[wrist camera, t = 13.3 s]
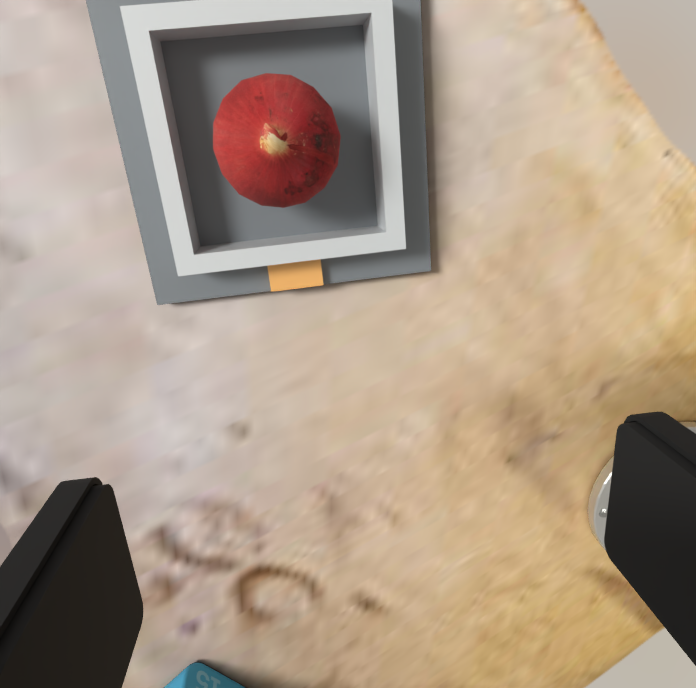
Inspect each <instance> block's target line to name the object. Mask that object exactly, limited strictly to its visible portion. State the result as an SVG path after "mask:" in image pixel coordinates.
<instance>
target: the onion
mask: <svg viewBox="0 0 696 688" xmlns="http://www.w3.org/2000/svg"><path fill="white" fill-rule="evenodd" d="M340 139H341V135H340V132H339V129H338V126H337V123H336V120H335V117H334V114H333V110H332V108H331V106H330V105H329V104H328V103H327V102H326V101H325V100H324V98H323V97H322V96H321V95H320V94H319V93H318V91H317V90H316V89H315V88H314V87H313V86H311V85H309V84H307V83H305V82H303V81H301V80H300V79H298V78H296V77H294V76H292V75H286V74H271V73H265V74H261V75H258V76H254V77H251V78H247V79H244V80H241V81H240V82H239V83H238V84H237V85H236V86H235V87H234V88H233V89H232V90H231V91H230V92H229V93H228V94H227V95H226V96H225V97H224V98H223V99H222V102H221V104H220V107H219V109H218V112H217V114H216V117H215V119H214V122H213V150H214V153H215V156H216V158H217V161H218V164H219V167H220V170H221V172H222V174H223V176H224V177H225V178H226V179H227V180H228V182H229V183H230V184H231V185H232V186H233V188H234V189H235V190H236V191H237V192H238V194H239V195H241V196H243V197H245V198H247V199H249V200H251V201H253V202H255V203H257V204H259V205H261V206H271V207H281V208H285V207H289V206H293V205H297V204H302V203H306V202H307V201H308V200H309V199H311V198H312V197H313V196H315V195H316V194H317V193H319V192H320V191H321V190H322V189H324V188H325V186H326V185H327V183H328V181H329V179H330V178H331V176H332V174H333V173H334V171H335V169H336V167H337V166H338V159H339V149H340Z"/></svg>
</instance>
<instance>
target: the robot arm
mask: <svg viewBox="0 0 696 688" xmlns="http://www.w3.org/2000/svg"><path fill="white" fill-rule="evenodd" d="M588 519H589V524H590V527H591V530H592V533H593V535H594V536H595V537H596V539H597V540H598V542H599V543H600V544H601V545H602V547H603V548H604V549H605V550H606V552H607V554H608V556H609V558H610V559H611V561H612V562H613V563H614V565H615V566H616V567H617V568H618V569H619V571H620V572H621V573H622V574H623V576H624V577H625V578H626V579H627V581H628V582H629V583H630V584H631V586H632V587H633V588H634V589H635V591H636V592H637V593H638V594H639V596H640V597H641V598H642V599H643V601H644V602H645V603H646V604H647V606H648V607H649V608H650V609H651V611H652V612H653V613H654V614H655V616H656V617H657V618H658V619H659V621H660V622H661V623H662V624H663V626H664V627H665V628H666V629H667V631H668V632H669V633H670V634H671V635H672V637H673V638H674V639H675V640H676V642H677V643H678V644H679V646H680V647H681V648H682V649H683V651H684V652H685V653H686V654H687V655H688V657H689V658H690V659H691V660H692V662H693V663H694V664H695V665H696V422H678V421H676V420H675V419H673V418H672V417H670V416H669V415H667V414H665V413H663V412H652V413H643V414H635V415H630V416H628V417H627V418H626V420H625V422H624V424H621V425H619V427H618V429H617V434H616V443H615V451H614V456H613V457H612V458H611V459H610V460H609V461H608V463H607V464H606V465H605V467H604V468H603V469H602V470H601V472H600V474H599V476H598V478H597V479H596V481H595V483H594V485H593V488H592V491H591V494H590V497H589V504H588ZM142 619H143V602H142V598H141V594H140V590H139V586H138V583H137V579H136V575H135V571H134V567H133V563H132V560H131V556H130V552H129V548H128V544H127V540H126V537H125V533H124V529H123V525H122V521H121V518H120V514H119V510H118V506H117V502H116V498H115V495H114V491H113V488H112V487H111V485H109V484H106V485H102V482H101V481H100V479H98V478H96V477H94V478H86V479H77V480H69V481H63V482H61V483H60V484H59V485H58V486H57V487H56V488H55V490H54V491H53V493H52V494H51V496H50V497H49V498H48V500H47V501H46V503H45V504H44V506H43V507H42V508H41V510H40V511H39V513H38V514H37V515H36V517H35V518H34V520H33V521H32V523H31V524H30V525H29V527H28V528H27V530H26V531H25V532H24V534H23V535H22V537H21V538H20V540H19V541H18V542H17V544H16V545H15V547H14V548H13V549H12V551H11V552H10V554H9V555H8V557H7V558H6V559H5V561H4V562H3V564H2V565H1V567H0V688H122V685H123V682H124V678H125V675H126V672H127V669H128V666H129V663H130V659H131V656H132V653H133V650H134V647H135V644H136V640H137V637H138V634H139V631H140V628H141V624H142Z"/></svg>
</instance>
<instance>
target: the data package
mask: <svg viewBox="0 0 696 688" xmlns="http://www.w3.org/2000/svg"><path fill="white" fill-rule="evenodd" d="M164 688H245V687H244V686H242V685H240V684H238V683H236V682H235V681H233V680H231V679H229V678H228V677H226V676H224V675H222V674H221V673H219V672H217V671H215V670H213V669H212V668H210V667H208V666H206V665H204V664H202V663H193V664H190V665H189V666H188V667H187V668H185V669H184V670H183V671H182V672H181V673H180V674H179V675H178V676H176V677H175V678H174V679H173V680H172V681H171V682H170V683H169V684H167V685H166V686H165V687H164Z"/></svg>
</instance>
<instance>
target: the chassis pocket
mask: <svg viewBox="0 0 696 688" xmlns="http://www.w3.org/2000/svg"><path fill="white" fill-rule="evenodd" d="M86 3H87V8H88V12H89V16H90V20H91V25H92V29H93V33H94V37H95V42H96V46H97V50H98V54H99V59H100V63H101V67H102V71H103V76H104V80H105V84H106V88H107V93H108V97H109V101H110V105H111V110H112V114H113V118H114V123H115V127H116V131H117V135H118V140H119V144H120V148H121V152H122V157H123V161H124V165H125V169H126V174H127V178H128V182H129V186H130V191H131V195H132V199H133V203H134V208H135V212H136V216H137V220H138V225H139V229H140V233H141V237H142V242H143V246H144V250H145V255H146V259H147V263H148V267H149V272H150V276H151V280H152V284H153V289H154V293H155V297H156V301H157V305H162V304H170V303H178V302H186V301H194V300H202V299H210V298H218V297H226V296H234V295H242V294H250V293H258V292H266V291H271V292H273V291H281V290H289V289H297V288H305V287H313V286H321V285H323V284H330V283H338V282H346V281H354V280H362V279H370V278H378V277H386V276H394V275H402V274H410V273H418V272H426V271H431V256H430V230H429V205H428V179H427V153H426V128H425V102H424V77H423V51H422V25H421V0H86ZM265 73H271V74H286V75H292V76H294V77H296V78H298V79H300V80H301V81H303V82H305V83H307V84H309V85H311V86H313V87H314V88H315V89H316V90H317V91H318V93H319V94H320V95H321V96H322V97H323V98H324V100H325V101H326V102H327V103H328V104H329V105H330V106H331V108H332V110H333V114H334V117H335V120H336V123H337V126H338V129H339V132H340V135H341V139H340V149H339V159H338V166H337V167H336V169H335V171H334V173H333V174H332V176H331V178H330V179H329V181H328V183H327V185H326V186H325V188H324V189H322V190H321V191H320V192H319V193H317V194H316V195H315V196H313V197H312V198H311V199H309V200H308V201H307V202H306V203H302V204H297V205H293V206H289V207H285V208H281V207H271V206H261V205H259V204H257V203H255V202H253V201H251V200H249V199H247V198H245V197H243V196H241V195H239V194H238V192H237V191H236V190H235V189H234V188H233V186H232V185H231V184H230V183H229V182H228V180H227V179H226V178H225V177H224V176H223V174H222V172H221V170H220V167H219V164H218V161H217V158H216V156H215V153H214V150H213V122H214V119H215V117H216V114H217V112H218V109H219V107H220V104H221V102H222V99H223V98H224V97H225V96H226V95H227V94H228V93H229V92H230V91H231V90H232V89H233V88H234V87H235V86H236V85H237V84H238V83H239V82H240V81H241V80H244V79H247V78H251V77H254V76H258V75H261V74H265Z"/></svg>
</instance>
